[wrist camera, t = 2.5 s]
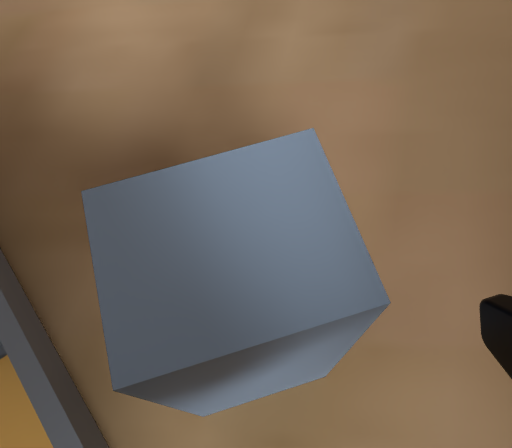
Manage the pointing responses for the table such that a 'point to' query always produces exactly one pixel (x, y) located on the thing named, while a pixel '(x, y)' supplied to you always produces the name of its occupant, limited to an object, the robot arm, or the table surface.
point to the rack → (36, 381)
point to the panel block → (229, 275)
